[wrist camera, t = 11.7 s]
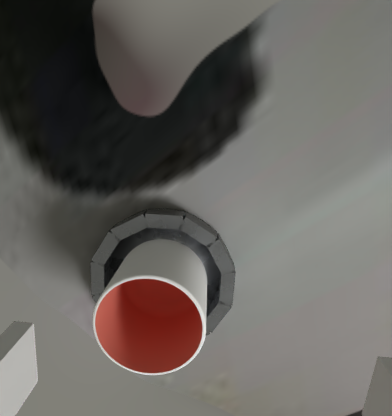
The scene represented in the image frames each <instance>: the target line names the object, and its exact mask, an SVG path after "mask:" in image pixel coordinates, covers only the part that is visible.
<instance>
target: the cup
mask: <svg viewBox="0 0 392 416" xmlns="http://www.w3.org/2000/svg"><path fill="white" fill-rule="evenodd" d="M206 312H207V275H206V271H205V268H204V265H203V263H202V262H201V260H200V258H199V257H198V256H197V255H196V254H195V253H194V252H193V251H192V250H191V249H190V248H188V247H187V246H185V245H184V244H182V243H179V242H177V241H173V240H168V239H155V240H150V241H147V242H144V243H142V244H140V245H138V246H137V247H135V248H134V249H133V250H132V251H131V252H130V253H129V254H128V255H127V256H126V257H125V259H124V260H123V262H122V264H121V265H120V267H119V268H118V270H117V271H116V273H115V274H114V276H113V277H112V279H111V280H110V282H109V284H108V285H107V287H106V288H105V290H104V291H103V293H102V294H101V296H100V297H99V299H98V301H97V303H96V305H95V308H94V312H93V320H92V324H93V331H94V335H95V338H96V340H97V342H98V344H99V346H100V348H101V349H102V350H103V352H104V353H105V354H106V355H107V356H108V357H109V358H110V359H111V360H112V361H113V362H115V363H116V364H118V365H119V366H121V367H122V368H124V369H127V370H129V371H132V372H135V373H139V374H144V375H161V374H167V373H171V372H173V371H176V370H178V369H180V368H182V367H184V366H185V365H187V364H188V363H189V362H191V361H192V360H193V359H194V358H195V357H196V355H197V354H198V352H199V351H200V349H201V347H202V345H203V343H204V340H205V335H206Z"/></svg>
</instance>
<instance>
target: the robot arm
mask: <svg viewBox="0 0 392 416" xmlns="http://www.w3.org/2000/svg"><path fill="white" fill-rule="evenodd" d="M36 361H37V360H36V347H35V334H34V323H27V322H16V321H14V322H13V323H12V324H11V325H10V326H9V327H8V328H7V329H6V330H5V331H4V332H3V333H2V334H1V335H0V416H15V415H16V414H17V412H18V410H19V409H20V408H21V406H22V404H23V403H24V401H25V400H26V398H27V397H28V395H29V394H30V392H31V391H32V389H33V388H34V386H35V385H36V383H37V382H38V373H37V362H36ZM362 415H363V416H392V358H389V357H378V358H377V362H376V365H375V369H374V372H373V376H372V379H371V383H370V386H369V390H368V394H367V397H366V401H365V404H364V408H363V411H362Z"/></svg>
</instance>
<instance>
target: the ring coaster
mask: <svg viewBox="0 0 392 416" xmlns="http://www.w3.org/2000/svg"><path fill="white" fill-rule="evenodd" d="M155 239H168V240H173V241H177V242H179V243H182V244H184V245H185V246H187V247H188V248H190V249H191V250H192V251H193V252H194V253H195V254H196V255H197V256H198V257H199V258H200V260H201V262H202V263H203V265H204V268H205V271H206V275H207V312H206V335H209V334H210V332H211V333H212V331H213V330H214V329H215V328H216V326H217V325H218V324H219V323H220V321H221V320H222V319H223V317H224V316H225V315H226V314H227V312H228V311H229V310H230V309H231V305H232V303H233V292H234V282H235V267H234V262H233V261H232V259H231V257H230V255H229V252H228V250H227V247H226V245H225V244H224V242H223V240H222V239H221V237H220V235H219V233H218V234H217V231H216V230H214V229H213V228H211V227H210V226H209V225H208V224H207V223H205V222H204V221H203V220H201V219H199V218H197V217H196V216H194V215H191V214H189V213H188V212H187V213H186V212H185V211H179V210H173V209H148V210H147V209H146V210H144V211H142V212H140V213H137V214H135V215H132V216H130V217H129V218H127V219H125V220H124V221H122V222H120V223H118V224H116V225H115V226H113V228H112V229H111V230H110V231H109V232H108V233H107V235H106V237H105V238H104V240H103V241H102V243H101V245H100V246H99V248H98V250H97V251H96V253H95V254H94V256H93V258H92V259H91V260H92V261H91V262H90V263H91V295H93V296H92V297H93V299H94V301H95V302H96V303H97V301H98V299H99V297H100V296H101V294H102V293H103V291H104V290H105V288H106V287H107V285H108V284H109V282H110V280H111V279H112V277H113V276H114V274H115V273H116V271H117V270H118V268H119V267H120V265H121V264H122V262H123V260H124V259H125V257H126V256H127V255H128V254H129V253H130V252H131V251H132V250H133V249H134V248H135V247H137V246H138V245H140V244H142V243H144V242H147V241H150V240H155ZM206 335H205V336H206Z"/></svg>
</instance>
